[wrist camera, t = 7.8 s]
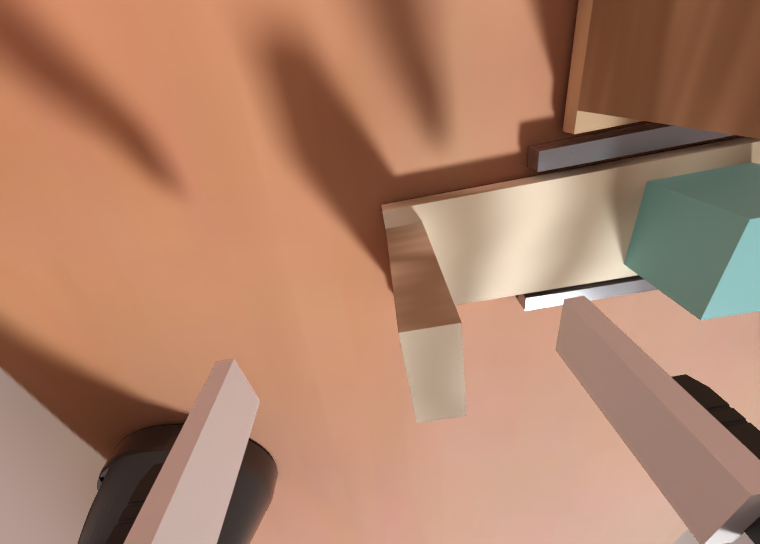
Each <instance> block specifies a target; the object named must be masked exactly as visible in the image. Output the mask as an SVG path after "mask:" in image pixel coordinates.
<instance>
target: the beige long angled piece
mask: <svg viewBox="0 0 760 544" xmlns="http://www.w3.org/2000/svg"><path fill="white" fill-rule="evenodd" d="M750 162H752V163H757V164H760V139H757V138H751V137H741V138H735V139H730V140H725V141H719V142H714V143H709V144H703V145H698V146H693V147H687V148H682V149H677V150H671V151H666V152H661V153H655V154H650V155H645V156H639V157H634V158H629V159H623V160H618V161H613V162H607V163H602V164H597V165H591V166H586V167H581V168H575V169H570V170H565V171H559V172H554V173H549V174H543V175H538V176H533V177H527V178H522V179H516V180H511V181H506V182H500V183H495V184H490V185H484V186H479V187H474V188H468V189H463V190H458V191H452V192H447V193H442V194H436V195H431V196H426V197H420V198H415V199H410V200H404V201H399V202H394V203H388V204H383V205H382V213H383V218H384V224H385V229H386V237H387V245H388V253H389V261H390V269H391V277H392V285H393V293H394V301H395V309H396V317H397V325H398V333H399V338H400V343H401V348H402V353H403V358H404V363H405V368H406V373H407V377H408V382H409V387H410V392H411V397H412V402H413V407H414V412H415V417H416V422H417V423H421V422H428V421H436V420H443V419H450V418H457V417H464V416H466V398H465V379H464V360H463V342H462V323H461V320H460V318H459V315H458V312H457V310H456V307H455V305H459V304H465V303H471V302H477V301H483V300H489V299H496V298H502V297H508V296H514V295H520V294H526V293H532V292H538V291H544V290H551V289H557V288H563V287H569V286H575V285H581V284H587V283H593V282H599V281H606V280H612V279H618V278H624V277H630V276H636V275H638V274H636V273H635V272H634V271H632V270H631V269H629V268H628V267H627V266H625V265H624V262H625V258H626V254H627V251H628V247H629V244H630V240H631V237H632V233H633V229H634V226H635V222H636V219H637V215H638V212H639V208H640V204H641V201H642V197H643V194H644V190H645V187H646V183H647V181H651V180H657V179H662V178H668V177H673V176H679V175H684V174H690V173H695V172H701V171H706V170H712V169H717V168H723V167H728V166H734V165H739V164H745V163H750Z"/></svg>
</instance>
